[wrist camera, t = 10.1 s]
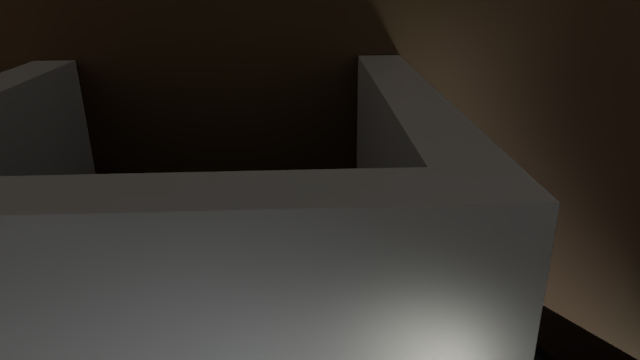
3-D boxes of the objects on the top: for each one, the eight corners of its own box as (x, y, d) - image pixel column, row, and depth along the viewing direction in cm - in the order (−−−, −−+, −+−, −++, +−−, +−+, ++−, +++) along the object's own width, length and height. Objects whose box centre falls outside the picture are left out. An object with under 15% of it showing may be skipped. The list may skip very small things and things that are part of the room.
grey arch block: (399, 54, 10) (560, 203, 4) (387, 349, 13) (471, 729, 7) (32, 61, 10) (-430, 225, 4) (93, 357, 13) (-118, 758, 6)
